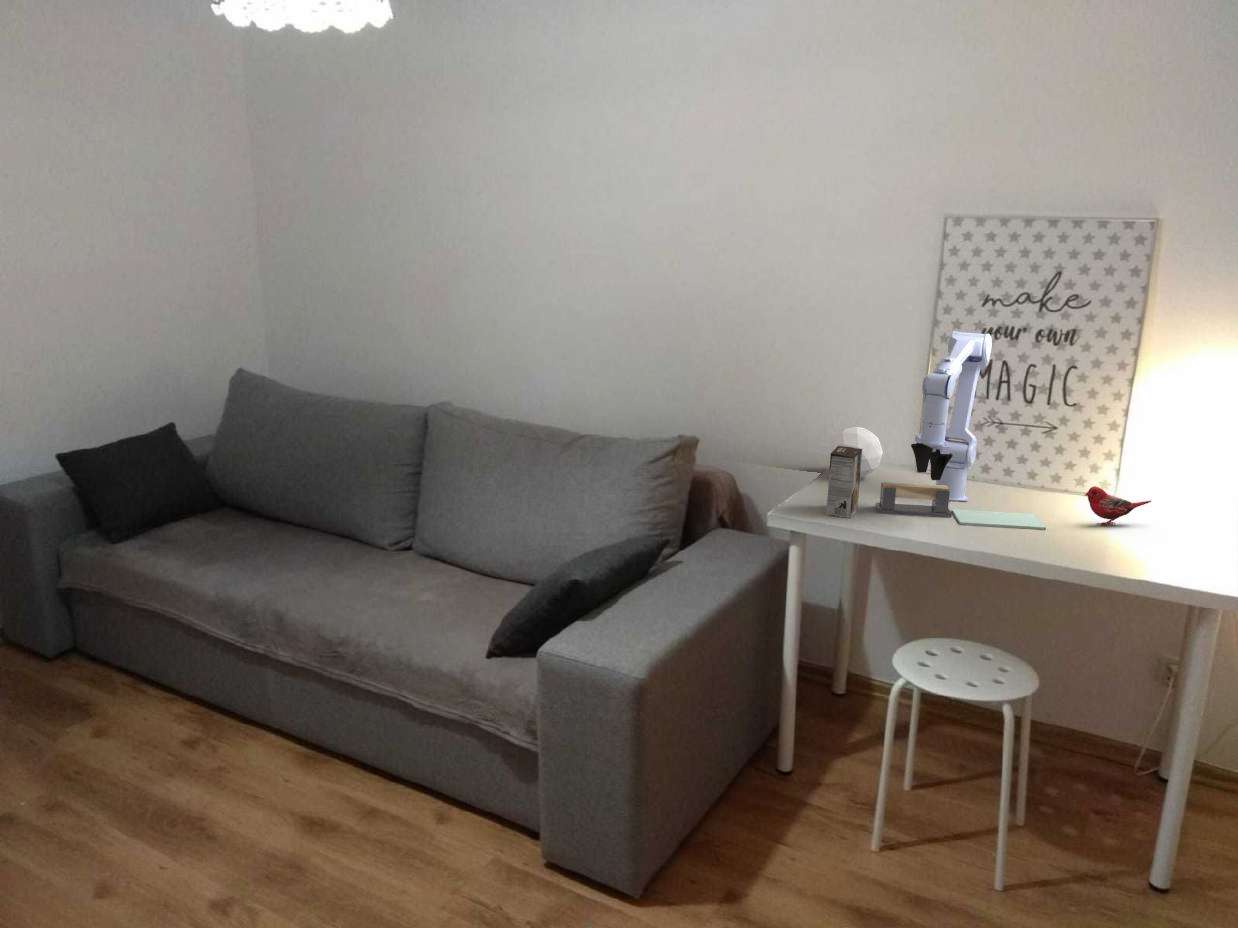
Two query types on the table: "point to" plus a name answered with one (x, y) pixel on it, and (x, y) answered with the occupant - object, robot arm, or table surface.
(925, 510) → the grey u-shaped holder
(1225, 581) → the table surface
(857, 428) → the white faceted ovoid
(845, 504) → the coffee box
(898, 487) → the beech rail
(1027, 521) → the green mat
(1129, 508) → the decorative bird figurine
